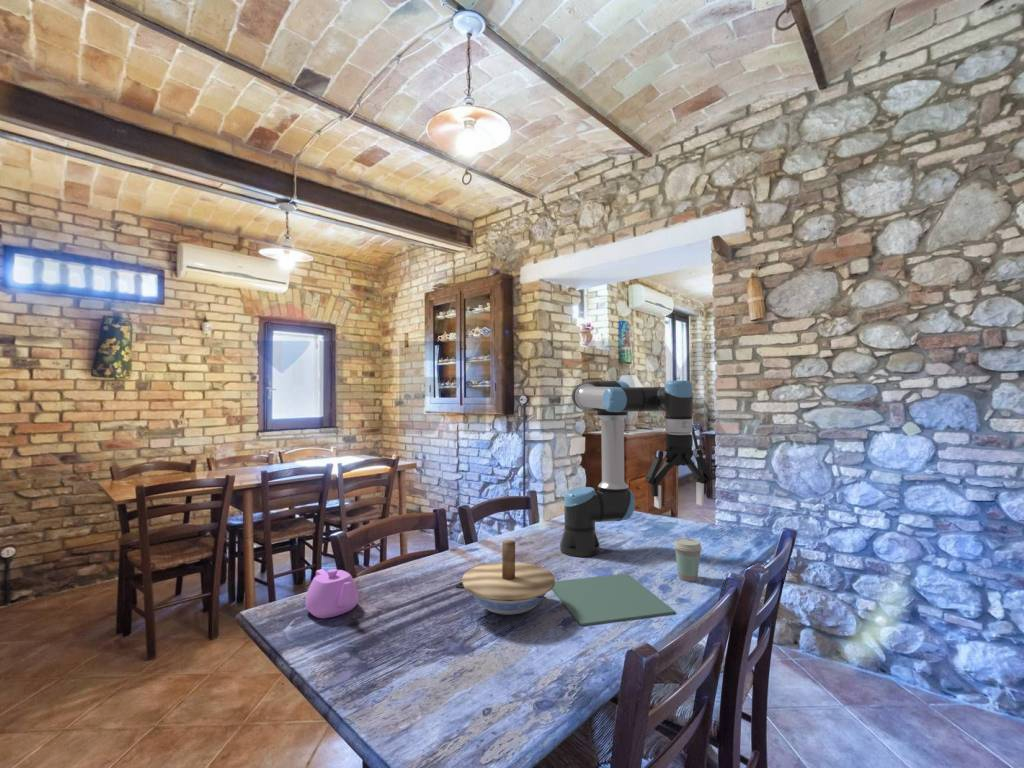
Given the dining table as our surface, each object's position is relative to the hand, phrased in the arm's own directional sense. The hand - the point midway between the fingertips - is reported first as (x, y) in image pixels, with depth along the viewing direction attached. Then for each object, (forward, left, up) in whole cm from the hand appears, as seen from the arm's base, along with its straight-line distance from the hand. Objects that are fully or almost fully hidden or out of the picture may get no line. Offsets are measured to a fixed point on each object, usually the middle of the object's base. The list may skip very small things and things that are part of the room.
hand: (679, 506), depth 142 cm
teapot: (-20, -97, -28) cm, 103 cm away
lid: (-8, -49, -20) cm, 54 cm away
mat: (-8, -19, -28) cm, 35 cm away
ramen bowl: (-8, -49, -28) cm, 57 cm away
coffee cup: (-15, +13, -28) cm, 34 cm away
